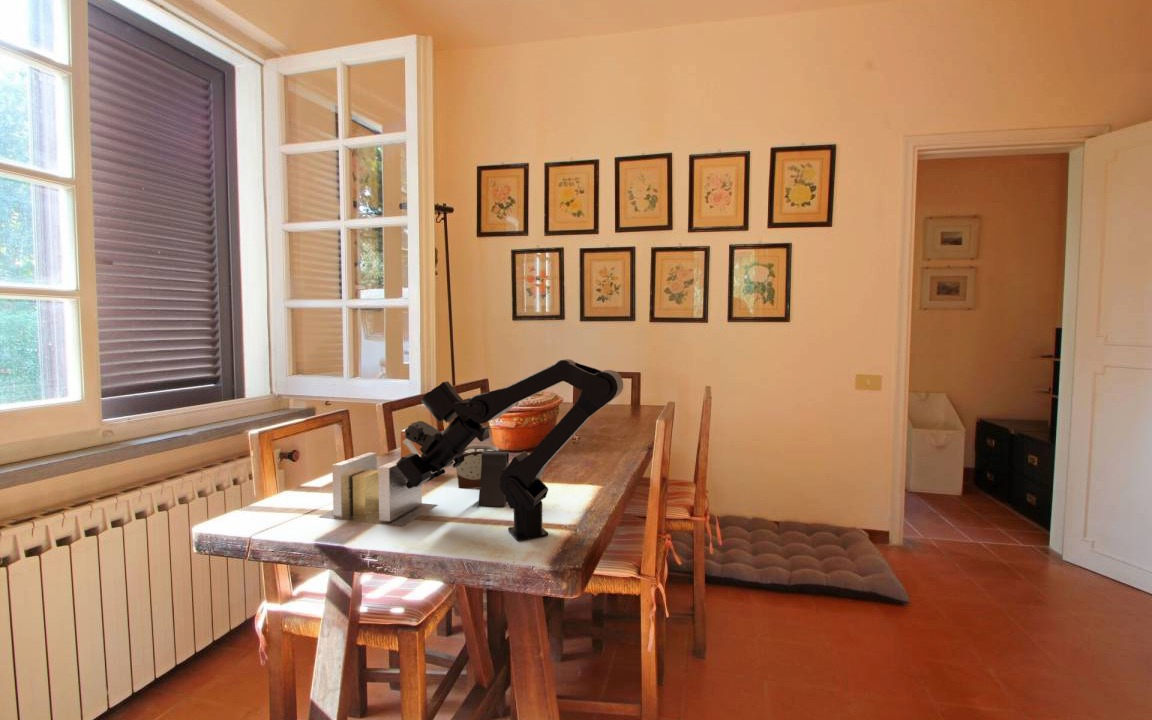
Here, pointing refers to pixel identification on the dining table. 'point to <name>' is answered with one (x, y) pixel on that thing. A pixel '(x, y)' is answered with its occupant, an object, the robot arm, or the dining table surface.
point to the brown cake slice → (472, 466)
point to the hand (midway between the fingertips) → (408, 486)
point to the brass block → (365, 492)
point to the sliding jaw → (395, 493)
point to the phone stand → (492, 478)
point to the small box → (409, 446)
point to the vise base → (376, 516)
